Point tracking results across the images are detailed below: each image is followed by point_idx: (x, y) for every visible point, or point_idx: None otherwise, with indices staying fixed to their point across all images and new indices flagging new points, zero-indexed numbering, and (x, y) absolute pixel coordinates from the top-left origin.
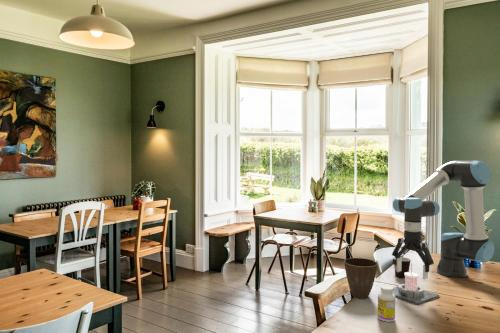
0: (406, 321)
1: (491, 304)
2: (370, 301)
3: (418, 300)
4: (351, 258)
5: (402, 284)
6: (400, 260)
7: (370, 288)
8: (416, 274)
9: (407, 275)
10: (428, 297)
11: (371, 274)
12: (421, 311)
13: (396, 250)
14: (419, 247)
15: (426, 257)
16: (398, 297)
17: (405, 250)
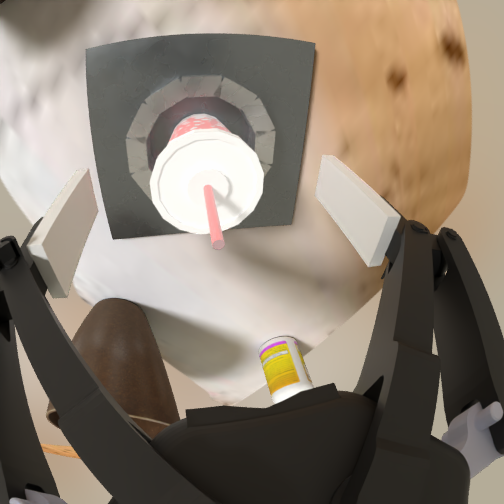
0: (315, 322)
1: (452, 7)
2: (172, 319)
3: (283, 200)
4: (52, 422)
5: (134, 148)
6: (58, 243)
7: (156, 343)
8: (236, 151)
9: (207, 231)
10: (295, 125)
11: (175, 402)
12: (322, 253)
13: (20, 375)
14: (416, 418)
15: (436, 321)
16: None
17: (88, 371)
